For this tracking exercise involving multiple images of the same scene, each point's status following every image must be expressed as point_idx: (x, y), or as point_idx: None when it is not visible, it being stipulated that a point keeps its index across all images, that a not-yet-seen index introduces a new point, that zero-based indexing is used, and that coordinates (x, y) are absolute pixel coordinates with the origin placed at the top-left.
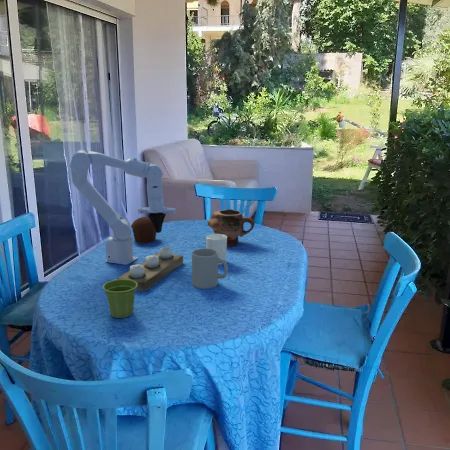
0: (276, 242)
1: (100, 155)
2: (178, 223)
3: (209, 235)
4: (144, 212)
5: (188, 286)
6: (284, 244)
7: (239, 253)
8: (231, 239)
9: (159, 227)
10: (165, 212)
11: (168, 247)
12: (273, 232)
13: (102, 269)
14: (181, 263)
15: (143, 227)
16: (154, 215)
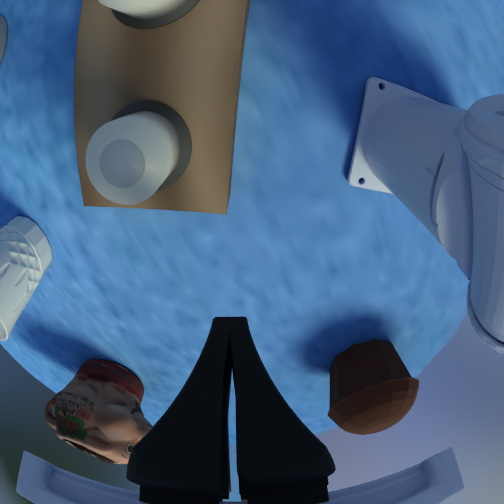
0: (47, 374)
1: None
2: None
3: (5, 326)
4: (393, 482)
5: (13, 3)
6: (31, 365)
7: (40, 318)
8: (79, 373)
9: (201, 356)
10: (120, 500)
11: (123, 199)
12: None
13: (442, 27)
14: None
15: (376, 392)
16: (249, 484)
